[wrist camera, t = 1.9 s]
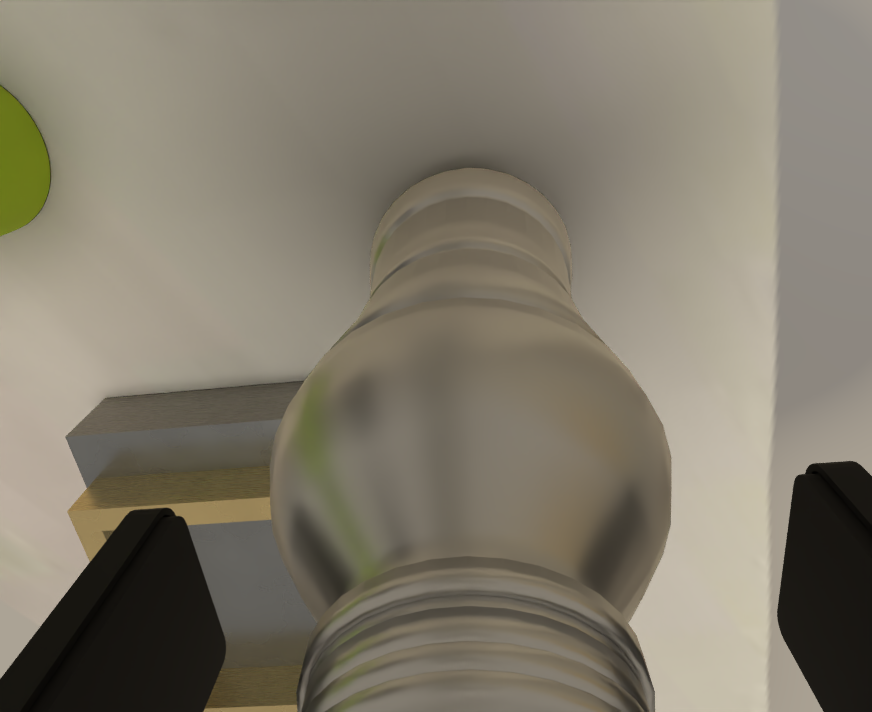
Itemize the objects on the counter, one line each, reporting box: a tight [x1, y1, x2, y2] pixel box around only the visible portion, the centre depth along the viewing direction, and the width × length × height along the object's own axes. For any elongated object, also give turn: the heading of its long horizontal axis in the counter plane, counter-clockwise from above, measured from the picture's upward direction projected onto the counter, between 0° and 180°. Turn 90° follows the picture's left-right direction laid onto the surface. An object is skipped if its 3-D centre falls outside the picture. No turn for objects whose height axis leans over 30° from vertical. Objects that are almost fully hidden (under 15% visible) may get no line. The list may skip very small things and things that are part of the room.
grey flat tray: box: [66, 381, 317, 712], centre depth 28 cm, size 16×12×5 cm
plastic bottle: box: [270, 168, 671, 712], centre depth 15 cm, size 6×7×20 cm
